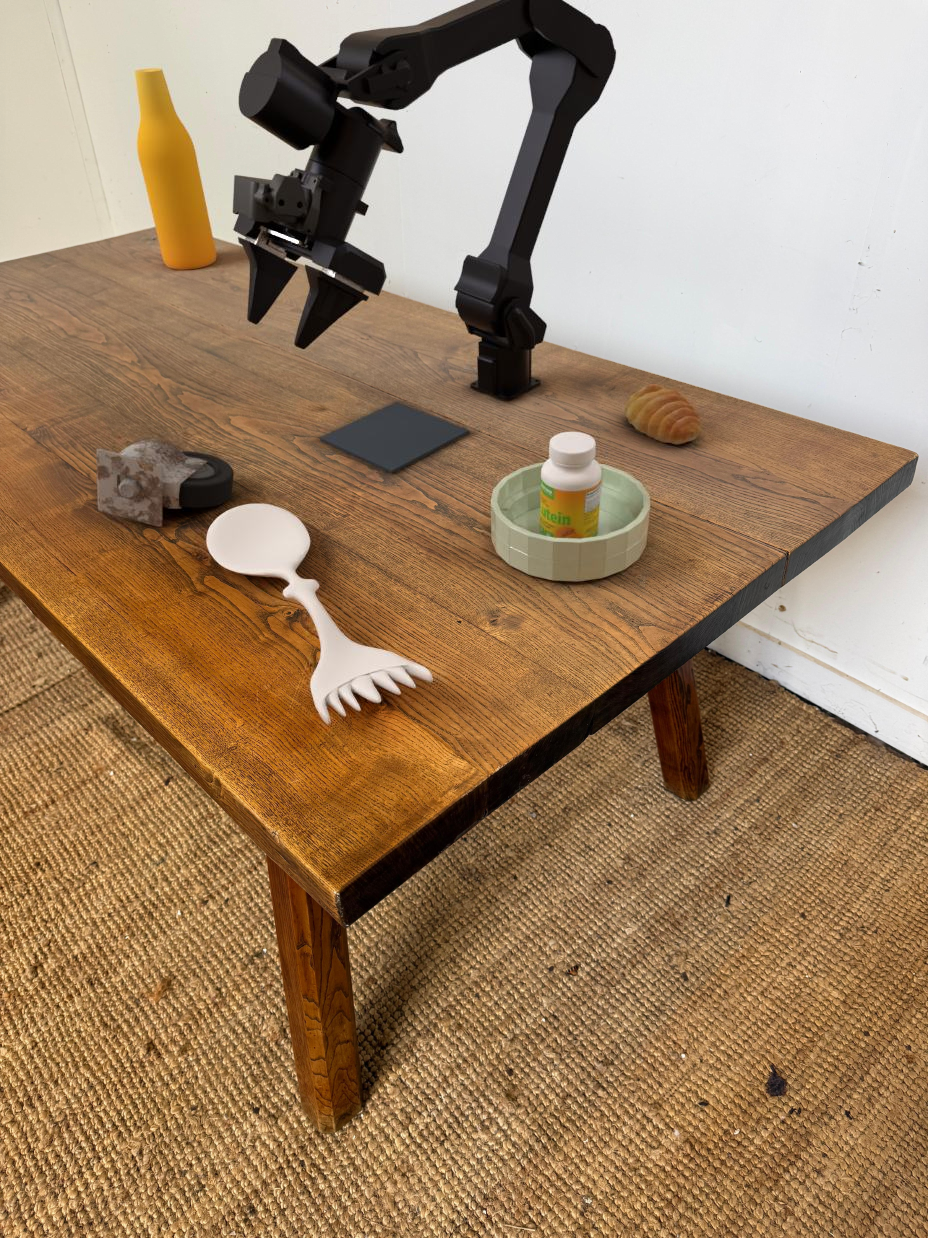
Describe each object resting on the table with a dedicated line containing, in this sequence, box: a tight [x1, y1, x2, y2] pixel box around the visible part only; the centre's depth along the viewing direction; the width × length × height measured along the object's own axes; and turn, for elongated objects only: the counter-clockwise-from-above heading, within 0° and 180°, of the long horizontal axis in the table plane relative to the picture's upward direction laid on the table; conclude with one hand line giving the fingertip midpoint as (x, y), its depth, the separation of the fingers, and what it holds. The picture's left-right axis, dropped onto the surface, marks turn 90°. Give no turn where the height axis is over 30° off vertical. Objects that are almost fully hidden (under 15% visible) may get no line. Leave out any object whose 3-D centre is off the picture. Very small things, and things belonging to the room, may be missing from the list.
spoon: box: [205, 503, 434, 726], centre depth 74 cm, size 9×32×4 cm, turn 30°
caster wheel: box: [96, 438, 235, 528], centre depth 89 cm, size 7×11×10 cm
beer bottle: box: [134, 67, 217, 271], centre depth 146 cm, size 9×9×29 cm
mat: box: [319, 401, 470, 474], centre depth 100 cm, size 12×12×1 cm
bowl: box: [490, 461, 651, 582], centre depth 81 cm, size 14×14×4 cm
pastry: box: [624, 383, 703, 445], centre depth 98 cm, size 9×7×4 cm
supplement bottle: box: [540, 431, 602, 539], centre depth 79 cm, size 5×5×10 cm
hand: (274, 334), depth 86 cm, fingers open, 9 cm apart
